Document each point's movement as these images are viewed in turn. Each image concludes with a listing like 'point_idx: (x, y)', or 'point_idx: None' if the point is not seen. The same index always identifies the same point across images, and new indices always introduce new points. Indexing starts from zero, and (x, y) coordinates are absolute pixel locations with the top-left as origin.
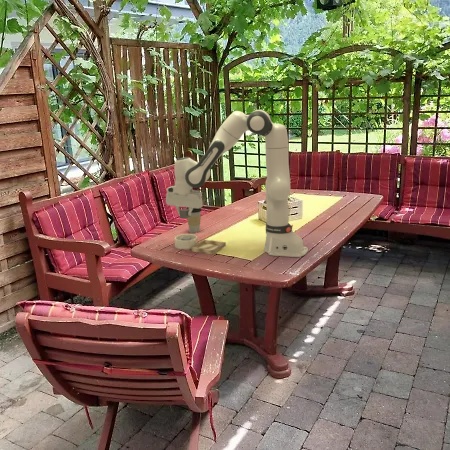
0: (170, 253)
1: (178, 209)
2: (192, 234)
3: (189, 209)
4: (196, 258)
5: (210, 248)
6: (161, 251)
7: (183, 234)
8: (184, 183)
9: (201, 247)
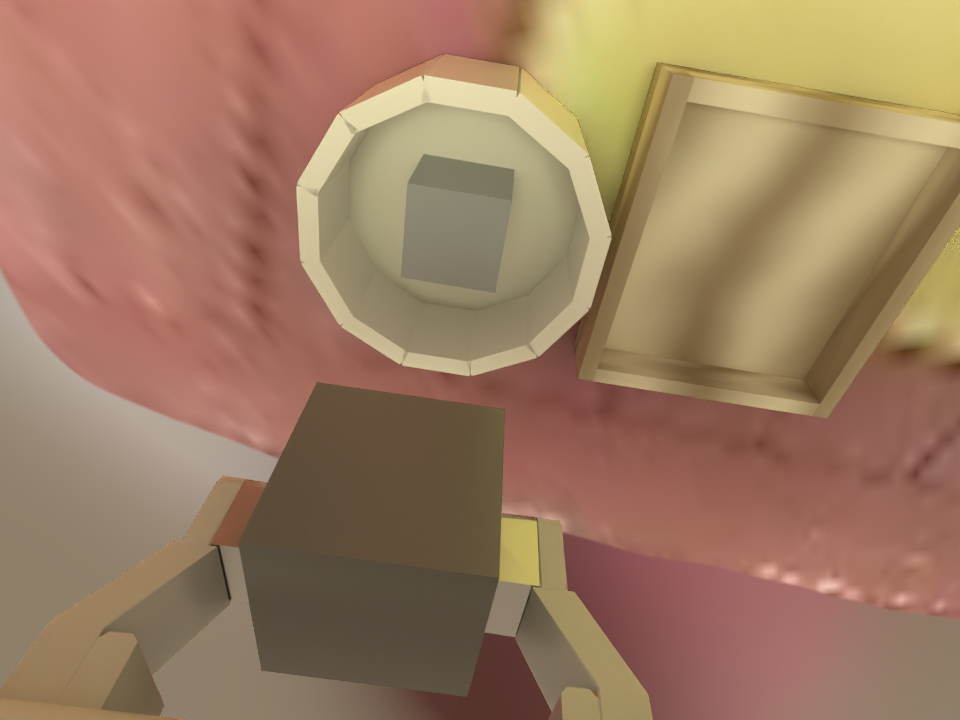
0: (394, 382)
1: (178, 634)
2: (492, 99)
3: (483, 577)
4: (653, 441)
5: (770, 255)
6: (291, 354)
7: (354, 130)
8: None
9: (658, 242)
